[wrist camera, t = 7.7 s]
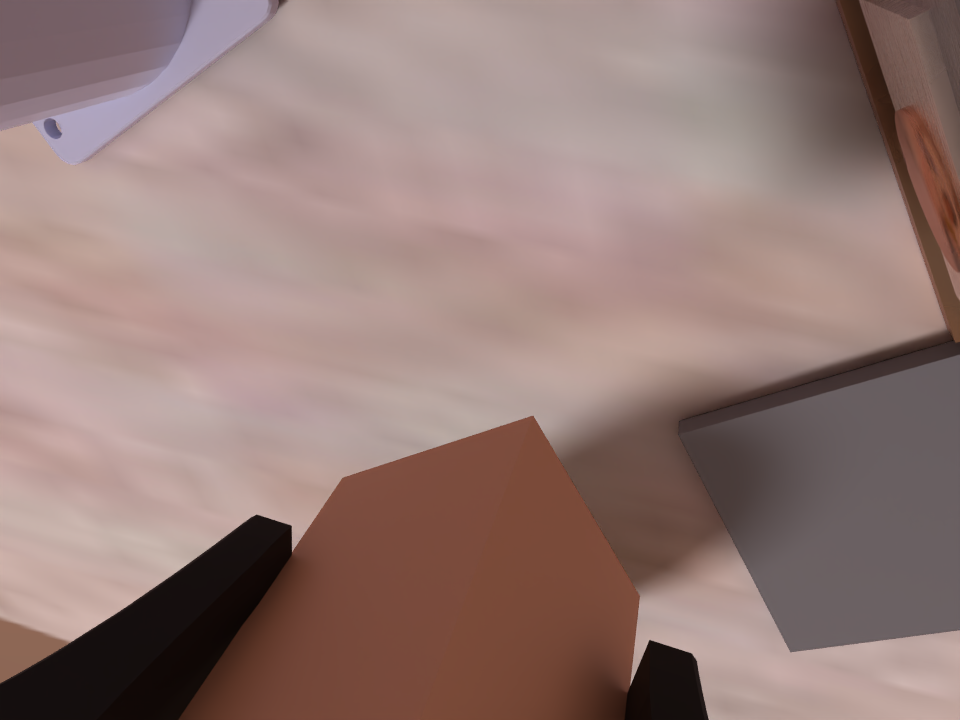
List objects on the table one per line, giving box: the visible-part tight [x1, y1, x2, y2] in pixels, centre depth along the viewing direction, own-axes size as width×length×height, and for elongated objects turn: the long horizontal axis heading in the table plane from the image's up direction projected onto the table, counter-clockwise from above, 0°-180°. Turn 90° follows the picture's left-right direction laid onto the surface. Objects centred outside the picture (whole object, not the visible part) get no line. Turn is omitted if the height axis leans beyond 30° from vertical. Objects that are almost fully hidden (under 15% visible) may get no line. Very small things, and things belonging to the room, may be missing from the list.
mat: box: [678, 341, 960, 652], centre depth 18 cm, size 8×8×1 cm
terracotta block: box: [178, 416, 640, 720], centre depth 10 cm, size 4×4×7 cm
